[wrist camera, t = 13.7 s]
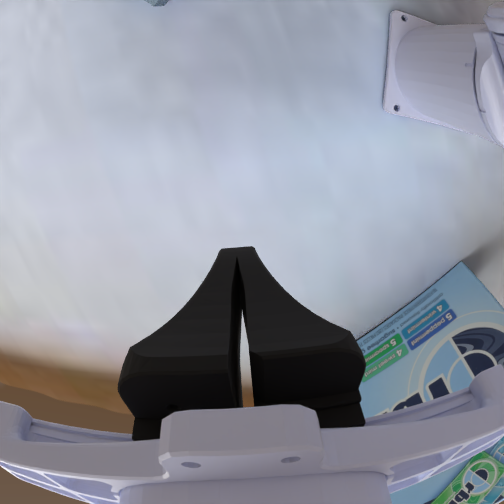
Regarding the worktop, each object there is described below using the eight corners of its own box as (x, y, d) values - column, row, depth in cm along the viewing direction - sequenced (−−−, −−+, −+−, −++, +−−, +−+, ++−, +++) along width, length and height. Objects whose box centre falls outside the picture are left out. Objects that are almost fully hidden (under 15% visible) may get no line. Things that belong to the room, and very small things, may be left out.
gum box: (339, 376, 35) (384, 550, 16) (316, 361, 33) (361, 560, 14) (471, 282, 29) (574, 444, 10) (461, 256, 27) (586, 437, 7)
